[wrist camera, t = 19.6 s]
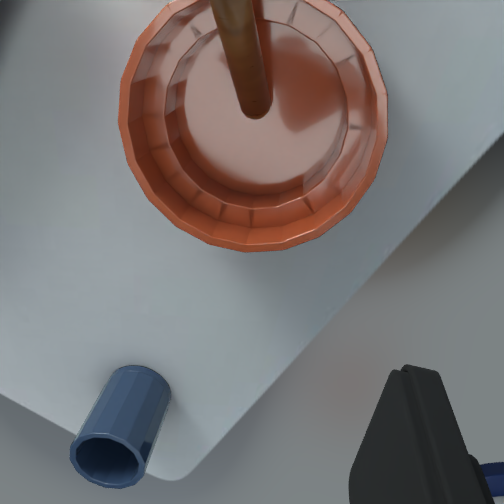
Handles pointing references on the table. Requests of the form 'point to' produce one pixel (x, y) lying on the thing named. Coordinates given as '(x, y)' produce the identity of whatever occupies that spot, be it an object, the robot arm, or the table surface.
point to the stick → (243, 55)
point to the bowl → (254, 124)
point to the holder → (121, 428)
